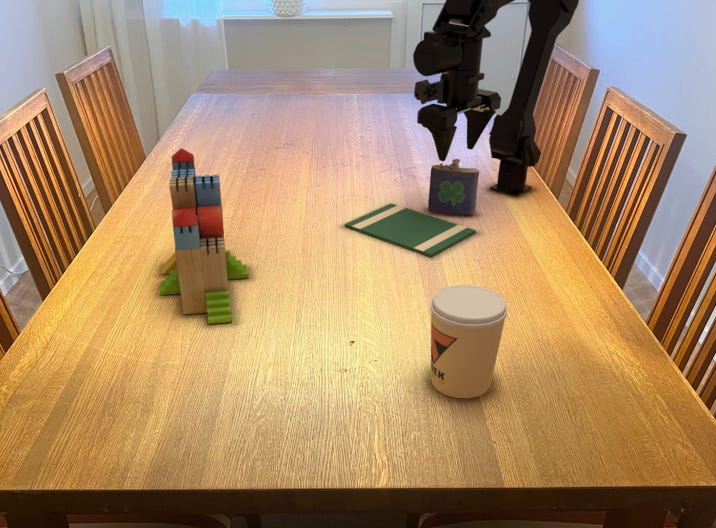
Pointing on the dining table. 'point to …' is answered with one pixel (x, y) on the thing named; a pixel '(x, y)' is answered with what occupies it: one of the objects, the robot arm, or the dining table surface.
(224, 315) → the block set
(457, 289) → the coffee cup
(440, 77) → the robot arm
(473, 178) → the flask
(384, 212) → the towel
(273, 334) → the dining table surface
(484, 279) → the dining table surface
